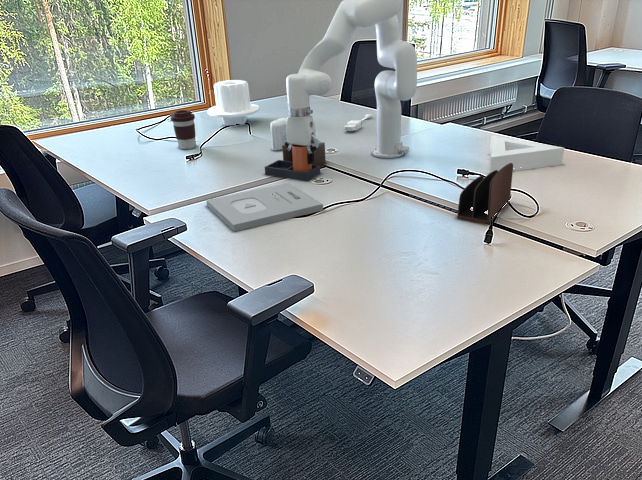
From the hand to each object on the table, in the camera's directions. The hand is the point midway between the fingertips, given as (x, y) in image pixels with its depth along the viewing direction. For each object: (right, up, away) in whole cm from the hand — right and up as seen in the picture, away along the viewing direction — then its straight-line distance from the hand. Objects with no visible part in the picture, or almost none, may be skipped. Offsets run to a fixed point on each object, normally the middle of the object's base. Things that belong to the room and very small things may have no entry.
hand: (302, 161), depth 212 cm
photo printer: (-10, +14, +34) cm, 38 cm away
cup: (0, -2, +1) cm, 3 cm away
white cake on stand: (-37, +37, +76) cm, 92 cm away
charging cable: (+23, +32, +64) cm, 76 cm away
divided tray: (-4, -4, +5) cm, 7 cm away
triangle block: (+77, 0, +6) cm, 77 cm away
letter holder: (+58, -23, -31) cm, 70 cm away
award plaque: (-11, -21, -24) cm, 34 cm away
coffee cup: (-52, +16, +40) cm, 68 cm away
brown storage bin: (0, +2, +14) cm, 14 cm away
